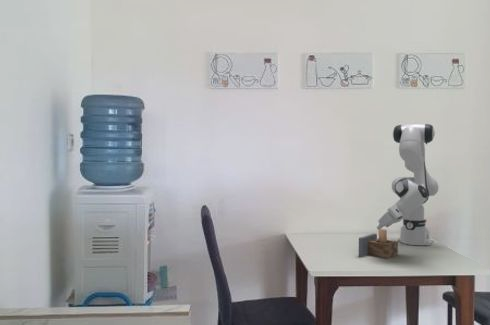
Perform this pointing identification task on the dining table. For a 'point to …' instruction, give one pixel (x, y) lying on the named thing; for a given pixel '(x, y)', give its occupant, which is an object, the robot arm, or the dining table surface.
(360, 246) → the wall
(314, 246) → the dining table surface
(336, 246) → the dining table surface
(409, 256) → the dining table surface
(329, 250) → the dining table surface
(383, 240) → the dowel
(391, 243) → the socket block
